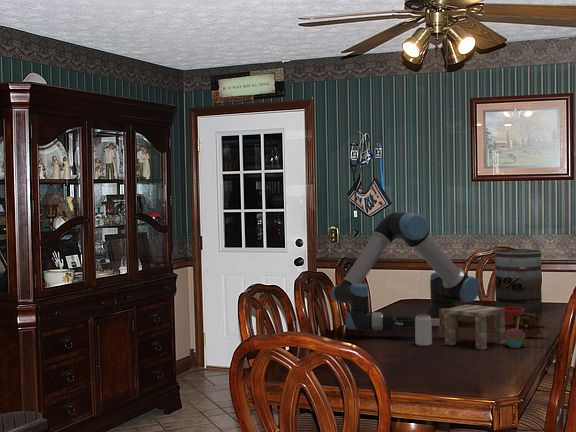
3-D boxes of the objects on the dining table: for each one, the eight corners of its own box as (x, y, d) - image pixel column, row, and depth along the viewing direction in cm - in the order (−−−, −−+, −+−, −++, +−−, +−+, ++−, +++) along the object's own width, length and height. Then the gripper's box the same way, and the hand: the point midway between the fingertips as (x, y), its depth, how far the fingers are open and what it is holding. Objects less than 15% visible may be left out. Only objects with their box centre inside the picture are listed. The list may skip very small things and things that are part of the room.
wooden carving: (503, 337, 326) (503, 313, 326) (504, 335, 330) (504, 312, 330) (545, 339, 320) (545, 315, 320) (545, 337, 325) (545, 313, 324)
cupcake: (526, 345, 310) (525, 314, 309) (525, 349, 302) (524, 318, 301) (503, 344, 312) (503, 314, 312) (502, 348, 304) (501, 317, 304)
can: (413, 343, 318) (413, 313, 318) (429, 342, 319) (428, 313, 318) (417, 346, 312) (417, 316, 311) (433, 345, 312) (433, 315, 312)
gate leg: (460, 342, 317) (460, 312, 316) (452, 342, 316) (452, 313, 316) (447, 336, 329) (446, 308, 329) (439, 337, 328) (439, 308, 328)
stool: (445, 344, 314) (444, 309, 314) (467, 338, 327) (467, 304, 326) (482, 349, 303) (482, 313, 302) (504, 342, 315) (504, 308, 314)
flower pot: (525, 332, 335) (525, 310, 335) (499, 332, 338) (498, 310, 337) (523, 328, 346) (523, 306, 345) (497, 328, 348) (497, 306, 348)
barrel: (488, 307, 408) (487, 250, 408) (529, 305, 412) (528, 248, 411) (507, 314, 386) (506, 253, 385) (549, 312, 390) (549, 251, 389)
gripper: (384, 327, 338) (440, 328, 333) (381, 332, 325) (439, 334, 320) (384, 310, 338) (439, 310, 333) (381, 314, 324) (439, 315, 320)
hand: (439, 322), depth 326 cm, fingers closed
